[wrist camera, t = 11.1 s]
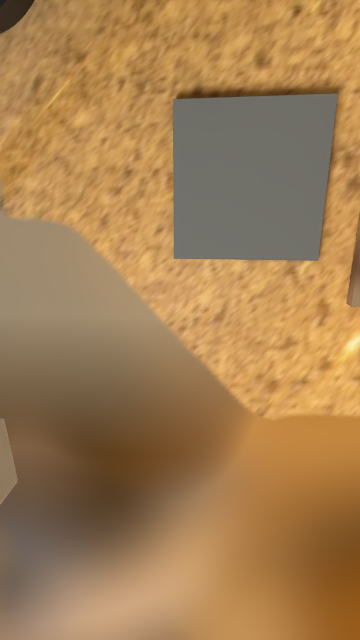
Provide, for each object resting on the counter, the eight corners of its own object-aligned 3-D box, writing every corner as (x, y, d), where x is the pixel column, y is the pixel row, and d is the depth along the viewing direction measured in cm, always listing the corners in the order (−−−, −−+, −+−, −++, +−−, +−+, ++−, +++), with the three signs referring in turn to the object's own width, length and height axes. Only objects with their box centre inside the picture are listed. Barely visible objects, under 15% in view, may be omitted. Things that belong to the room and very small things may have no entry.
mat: (174, 102, 36) (173, 99, 35) (334, 96, 34) (337, 93, 33) (174, 257, 40) (173, 258, 39) (315, 259, 39) (318, 260, 38)
